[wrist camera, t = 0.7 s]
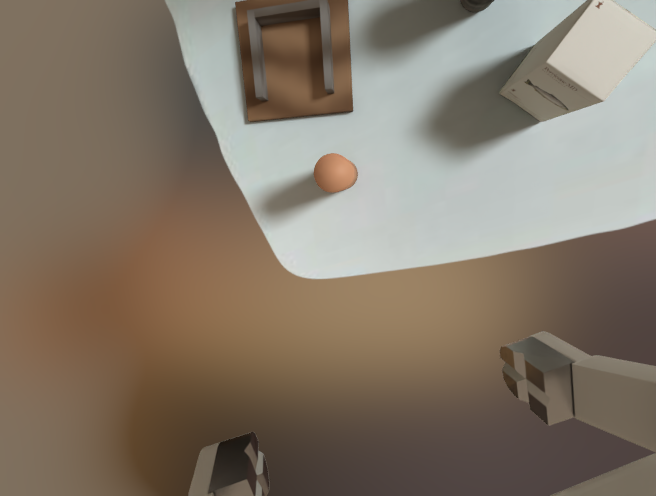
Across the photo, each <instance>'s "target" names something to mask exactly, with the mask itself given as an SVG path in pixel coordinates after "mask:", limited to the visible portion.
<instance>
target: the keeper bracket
mask: <svg viewBox="0 0 656 496" xmlns="http://www.w3.org/2000/svg"><path fill="white" fill-rule="evenodd" d="M235 5H236V14H237V23H238V32H239V41H240V50H241V59H242V68H243V77H244V86H245V95H246V104H247V114H248V121H250V122H255V121H265V120H274V119H284V118H294V117H304V116H313V115H323V114H333V113H343V112H352V111H353V98H352V77H351V55H350V34H349V12H348V0H246V1H240V2H235Z"/></svg>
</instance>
